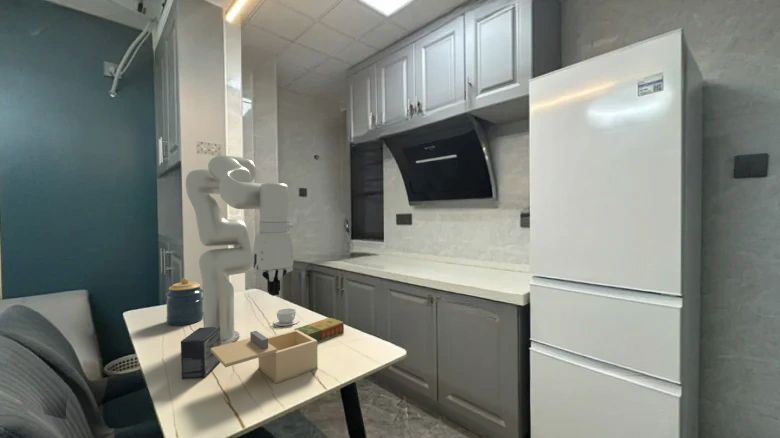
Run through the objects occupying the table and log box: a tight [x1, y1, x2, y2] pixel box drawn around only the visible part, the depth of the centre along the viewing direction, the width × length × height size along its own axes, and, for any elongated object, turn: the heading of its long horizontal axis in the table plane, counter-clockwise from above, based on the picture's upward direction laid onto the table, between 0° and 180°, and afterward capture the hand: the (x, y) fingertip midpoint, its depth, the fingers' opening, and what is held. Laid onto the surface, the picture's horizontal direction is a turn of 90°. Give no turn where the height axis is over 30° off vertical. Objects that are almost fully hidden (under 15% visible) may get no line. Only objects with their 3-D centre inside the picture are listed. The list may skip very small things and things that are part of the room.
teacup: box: [273, 308, 300, 327], centre depth 133 cm, size 10×10×5 cm
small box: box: [180, 327, 221, 380], centre depth 93 cm, size 11×6×10 cm, turn 5°
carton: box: [294, 317, 345, 343], centre depth 118 cm, size 8×16×4 cm, turn 140°
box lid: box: [210, 330, 277, 368], centre depth 85 cm, size 12×12×3 cm
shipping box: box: [257, 329, 319, 384], centre depth 94 cm, size 12×12×8 cm
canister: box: [165, 277, 203, 326], centre depth 135 cm, size 13×13×18 cm
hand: (273, 294), depth 91 cm, fingers closed
